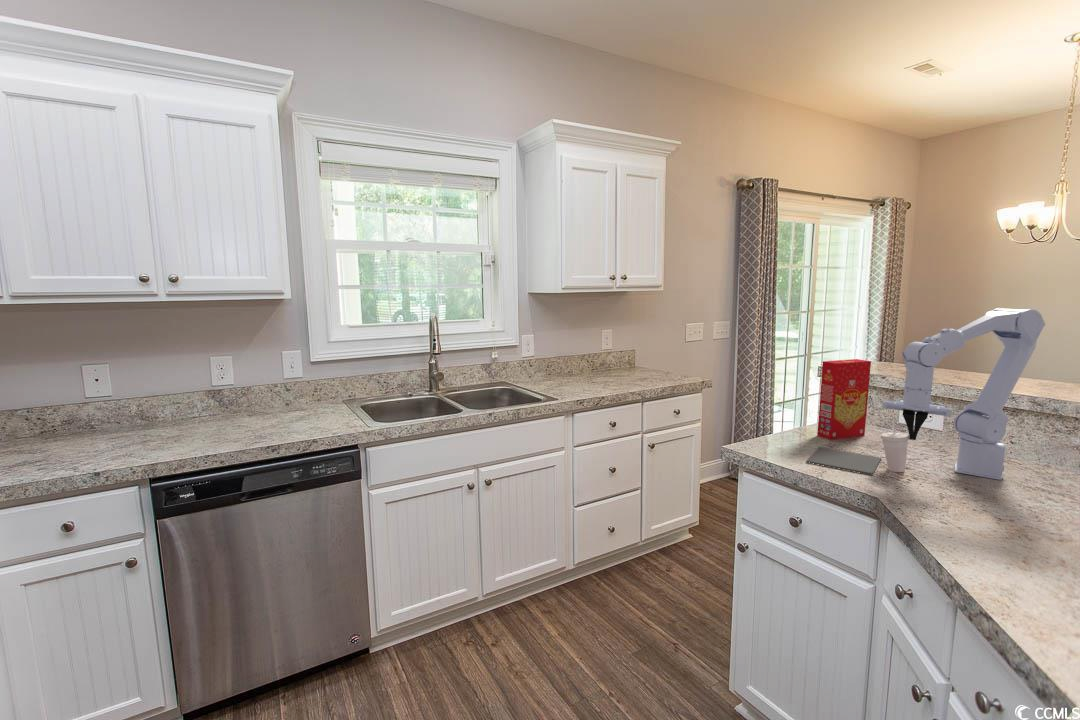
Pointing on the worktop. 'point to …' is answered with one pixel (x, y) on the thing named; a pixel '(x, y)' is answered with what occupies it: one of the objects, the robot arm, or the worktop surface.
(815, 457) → the mat
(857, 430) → the food packaging
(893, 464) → the smoothie
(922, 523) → the worktop surface
